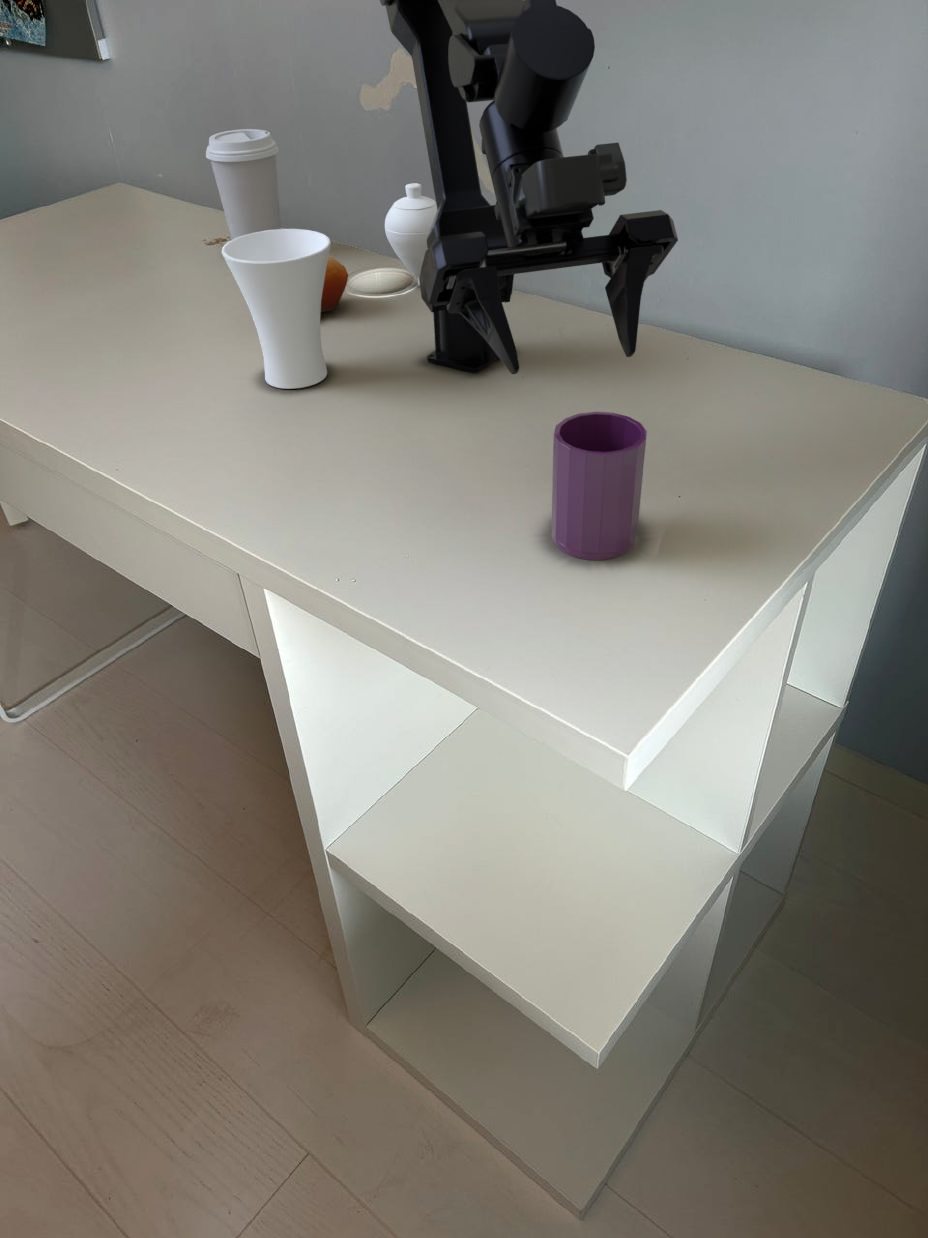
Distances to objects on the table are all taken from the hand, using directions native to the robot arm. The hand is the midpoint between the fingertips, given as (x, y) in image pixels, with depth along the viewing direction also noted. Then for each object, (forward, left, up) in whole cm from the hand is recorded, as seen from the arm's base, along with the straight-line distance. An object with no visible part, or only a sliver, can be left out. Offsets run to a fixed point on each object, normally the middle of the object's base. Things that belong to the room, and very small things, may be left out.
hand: (574, 363), depth 71 cm
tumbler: (+4, -4, -12) cm, 13 cm away
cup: (-37, +7, -12) cm, 39 cm away
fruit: (-48, +23, -12) cm, 54 cm away
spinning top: (-42, +36, -12) cm, 57 cm away
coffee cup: (-70, +36, -12) cm, 80 cm away
